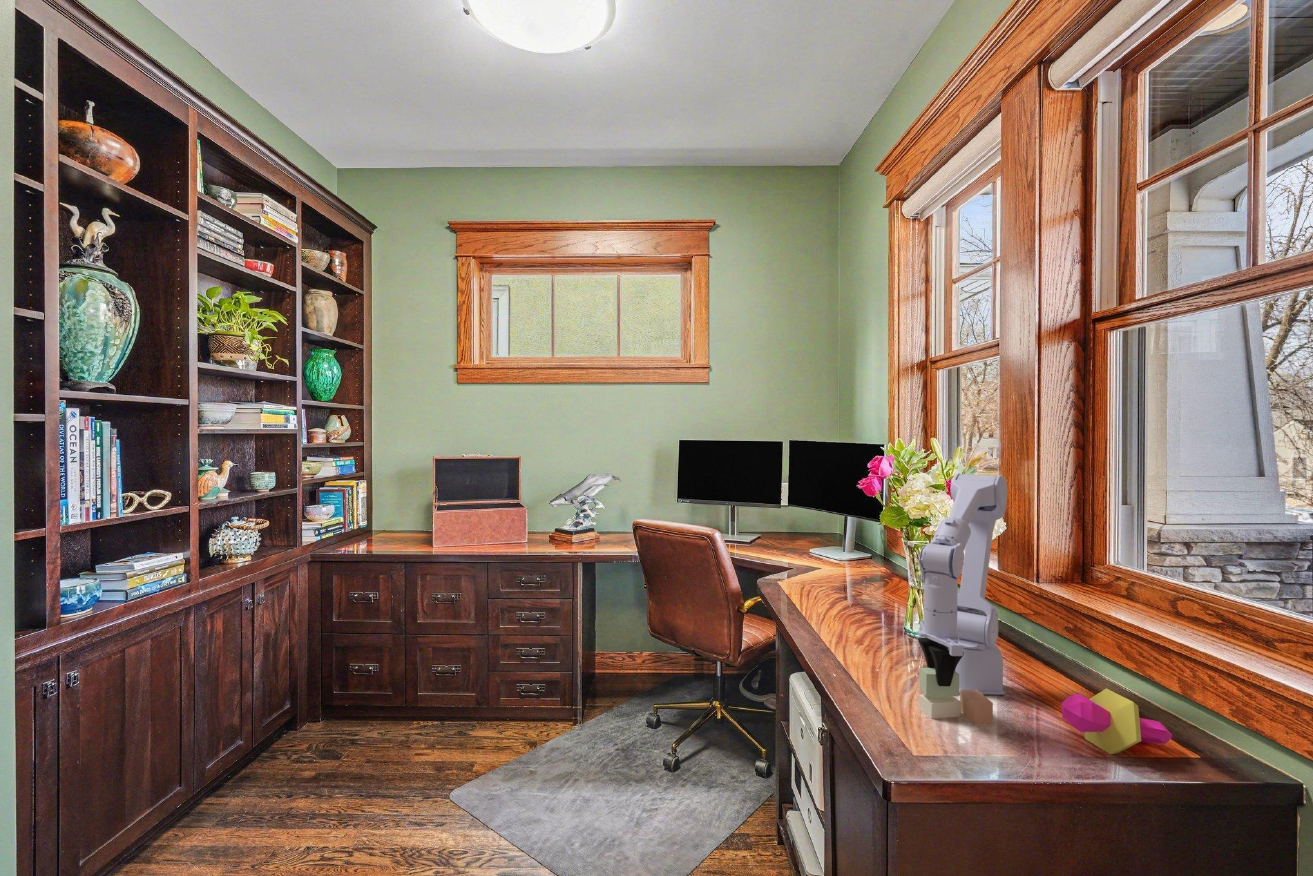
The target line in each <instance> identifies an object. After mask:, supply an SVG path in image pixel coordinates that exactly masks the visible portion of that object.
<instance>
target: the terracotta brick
mask: <svg viewBox="0 0 1313 876" xmlns="http://www.w3.org/2000/svg"><path fill="white" fill-rule="evenodd" d="M959 701H961V713H963V715H964V716H965V717H966V718H967V719H969V720H970V722H972V723H973V725H986V726H987V725H990V726H993V720H994V719H993V715H994V713H993V712H994V707H993V706H994V703H993V702H992V700H990V699H988V697H987V696H985V694H982V693H981V692H979V691H978V690H965V689H960V694H959Z"/></svg>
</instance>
